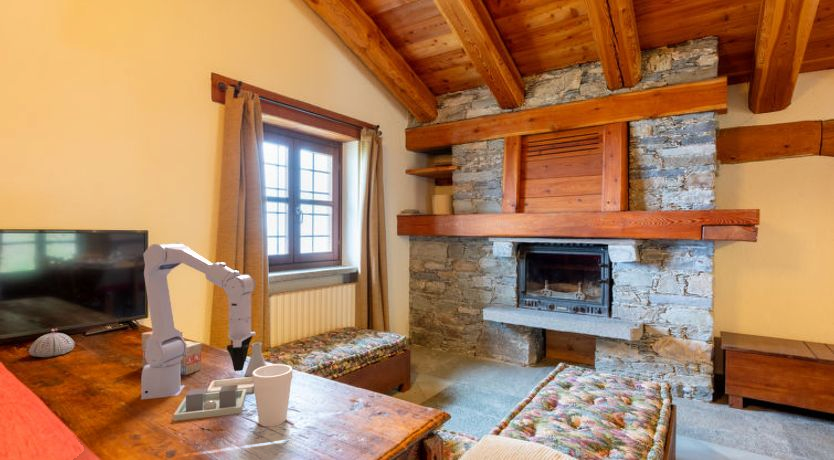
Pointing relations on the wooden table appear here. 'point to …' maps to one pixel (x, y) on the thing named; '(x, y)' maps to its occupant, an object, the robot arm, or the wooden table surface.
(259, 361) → the flask
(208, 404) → the pale pink ball
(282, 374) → the foam cup
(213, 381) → the dish
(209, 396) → the bin
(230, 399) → the grey cube
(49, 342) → the sea urchin shell
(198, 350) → the cardboard box
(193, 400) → the grey cube
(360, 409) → the wooden table surface
